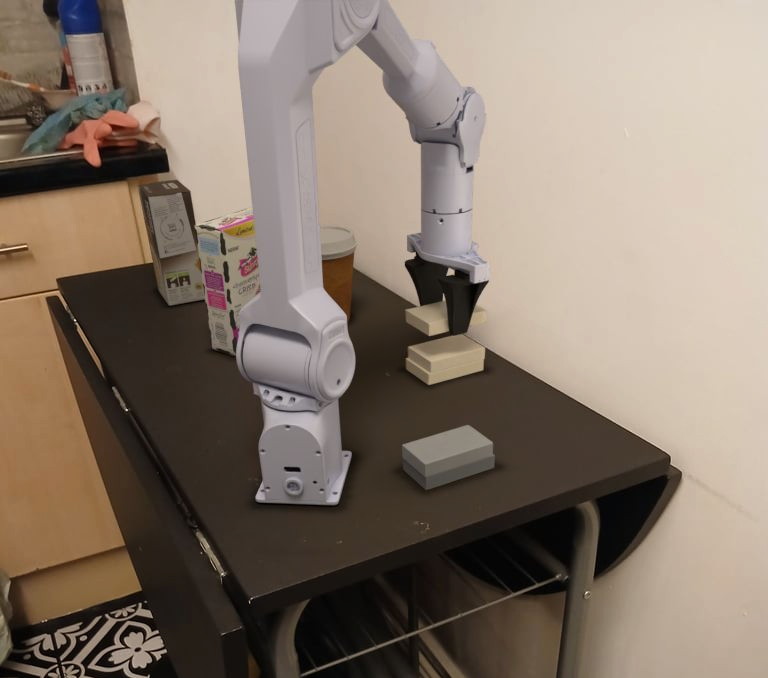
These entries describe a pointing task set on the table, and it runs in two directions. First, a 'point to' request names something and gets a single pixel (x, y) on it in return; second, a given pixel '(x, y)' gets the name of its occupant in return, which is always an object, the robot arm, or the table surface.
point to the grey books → (447, 457)
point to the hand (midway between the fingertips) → (445, 325)
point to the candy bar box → (227, 273)
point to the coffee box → (172, 240)
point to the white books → (445, 359)
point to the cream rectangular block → (438, 317)
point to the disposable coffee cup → (338, 264)
